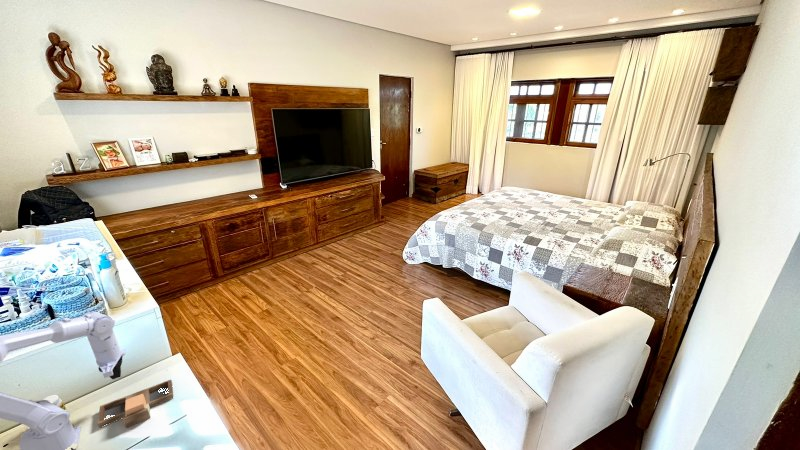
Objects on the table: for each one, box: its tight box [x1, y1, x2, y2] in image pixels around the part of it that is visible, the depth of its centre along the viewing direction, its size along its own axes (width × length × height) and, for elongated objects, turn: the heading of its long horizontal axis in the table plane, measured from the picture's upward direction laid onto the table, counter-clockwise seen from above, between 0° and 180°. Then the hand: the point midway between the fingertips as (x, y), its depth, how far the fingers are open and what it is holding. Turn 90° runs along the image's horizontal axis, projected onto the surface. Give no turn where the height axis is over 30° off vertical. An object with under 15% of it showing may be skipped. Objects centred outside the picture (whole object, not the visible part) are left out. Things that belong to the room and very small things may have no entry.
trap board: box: [97, 379, 174, 428], centre depth 102 cm, size 19×11×4 cm, turn 127°
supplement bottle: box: [42, 394, 68, 411], centre depth 96 cm, size 5×5×8 cm
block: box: [125, 394, 146, 416], centre depth 100 cm, size 4×4×4 cm
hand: (116, 376), depth 103 cm, fingers closed
